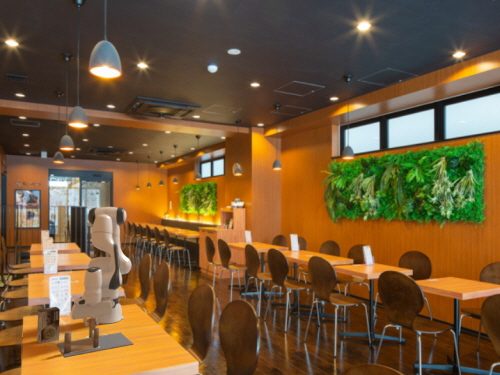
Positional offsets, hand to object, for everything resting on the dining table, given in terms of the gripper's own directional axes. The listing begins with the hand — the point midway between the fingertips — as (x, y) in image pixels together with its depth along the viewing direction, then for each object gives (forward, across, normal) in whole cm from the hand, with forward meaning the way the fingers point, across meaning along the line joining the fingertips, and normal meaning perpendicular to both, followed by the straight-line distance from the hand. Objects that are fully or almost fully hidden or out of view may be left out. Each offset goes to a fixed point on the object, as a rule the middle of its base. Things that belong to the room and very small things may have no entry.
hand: (91, 325), depth 203 cm
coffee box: (+8, +19, -12) cm, 24 cm away
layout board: (+8, 0, +8) cm, 11 cm away
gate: (+7, 0, +5) cm, 9 cm away
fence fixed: (+7, +7, +14) cm, 17 cm away
